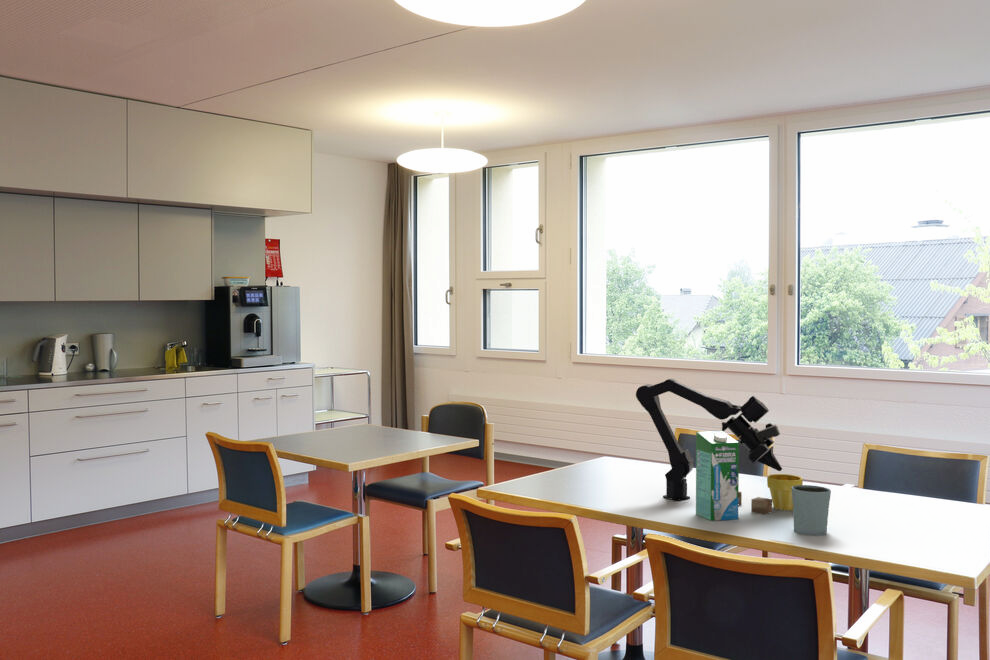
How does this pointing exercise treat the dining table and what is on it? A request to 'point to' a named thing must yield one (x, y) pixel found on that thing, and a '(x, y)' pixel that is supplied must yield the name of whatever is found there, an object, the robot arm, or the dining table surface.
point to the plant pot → (782, 489)
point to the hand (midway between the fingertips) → (781, 470)
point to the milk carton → (717, 475)
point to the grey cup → (810, 509)
